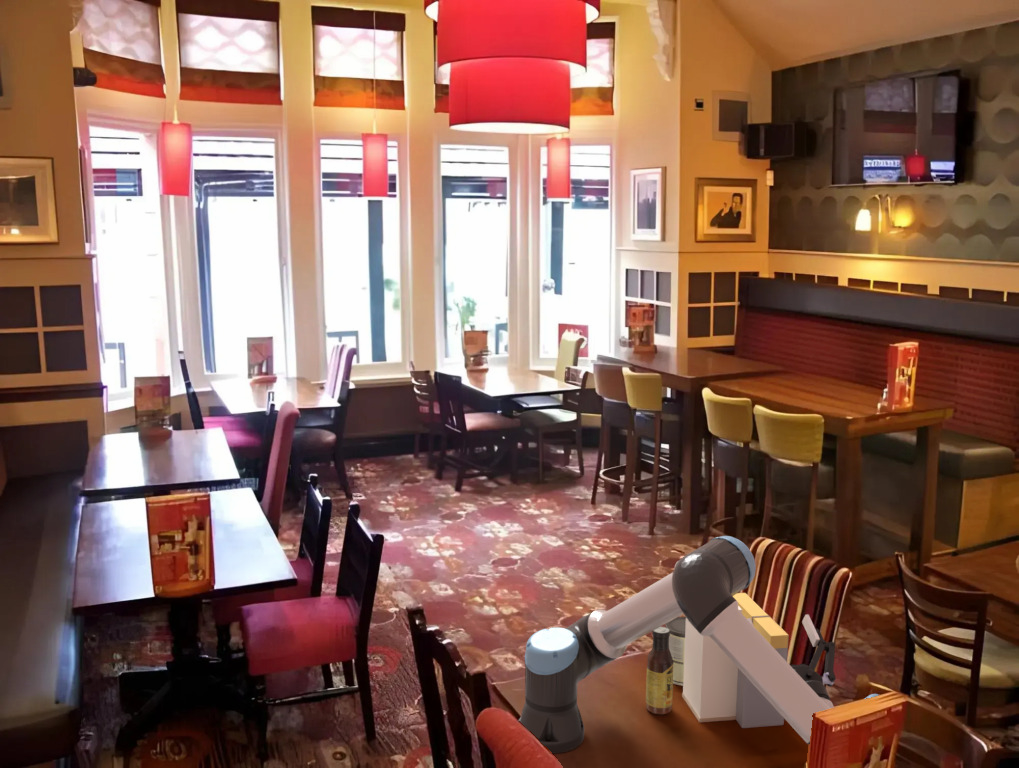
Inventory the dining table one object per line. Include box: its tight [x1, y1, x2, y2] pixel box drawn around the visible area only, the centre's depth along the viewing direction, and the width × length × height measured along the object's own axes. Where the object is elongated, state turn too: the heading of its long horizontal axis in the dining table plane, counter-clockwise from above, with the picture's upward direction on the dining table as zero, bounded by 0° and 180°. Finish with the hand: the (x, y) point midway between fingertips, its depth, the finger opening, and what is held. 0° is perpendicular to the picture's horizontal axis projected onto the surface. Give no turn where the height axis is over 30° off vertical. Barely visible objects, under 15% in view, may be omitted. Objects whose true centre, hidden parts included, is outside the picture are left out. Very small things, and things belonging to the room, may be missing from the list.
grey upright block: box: [736, 616, 790, 729], centre depth 216 cm, size 12×10×22 cm
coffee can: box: [664, 616, 686, 687], centre depth 234 cm, size 10×10×14 cm
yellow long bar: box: [733, 592, 789, 649], centre depth 214 cm, size 24×4×3 cm, turn 8°
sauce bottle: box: [645, 626, 674, 715], centre depth 218 cm, size 6×6×20 cm
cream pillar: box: [681, 606, 742, 723], centre depth 218 cm, size 12×9×27 cm
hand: (776, 619), depth 204 cm, fingers open, 13 cm apart
